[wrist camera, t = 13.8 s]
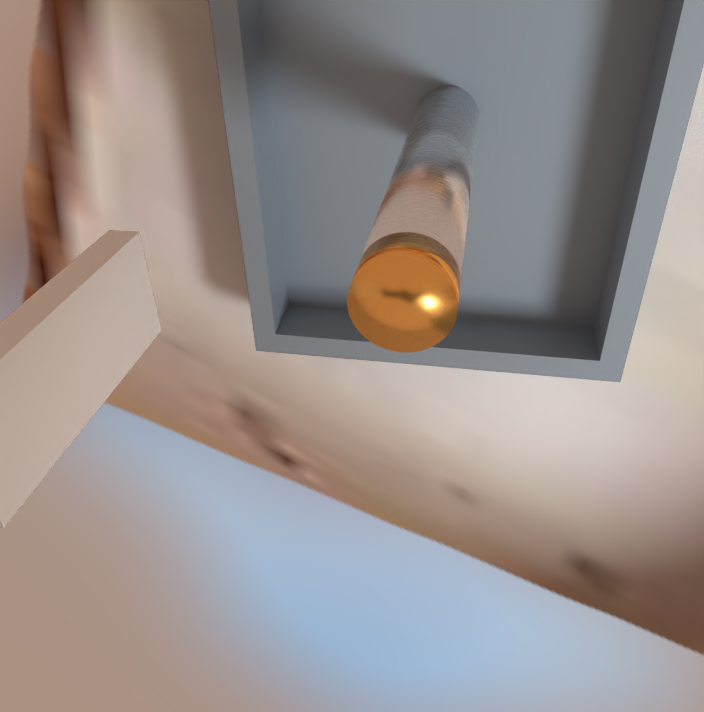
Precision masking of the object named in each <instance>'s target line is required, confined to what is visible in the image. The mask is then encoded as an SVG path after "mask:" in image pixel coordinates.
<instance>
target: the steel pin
mask: <svg viewBox="0 0 704 712" xmlns="http://www.w3.org/2000/svg"><path fill="white" fill-rule="evenodd" d="M478 121H479V112H478V107H477V105H476V102H475V101H474V99H473V98H472V96H471V95H470V94H469V93H468V92H466V91H465V90H463V89H462V88H459V87H456V86H450V85H446V86H440V87H437V88H435V89H433V90H431V91H430V92H428V93H427V94H426V95H425V96H424V97H423V98H422V100H421V101H420V103H419V105H418V108H417V110H416V113H415V116H414V118H413V121H412V124H411V126H410V129H409V132H408V134H407V137H406V140H405V142H404V145H403V148H402V150H401V153H400V155H399V158H398V161H397V163H396V166H395V169H394V171H393V174H392V177H391V179H390V182H389V185H388V187H387V190H386V193H385V195H384V198H383V200H382V203H381V206H380V208H379V211H378V214H377V216H376V219H375V222H374V224H373V227H372V230H371V232H370V235H369V238H368V240H367V243H366V245H365V248H364V251H363V253H362V256H361V259H360V261H359V264H358V267H357V269H356V272H355V275H354V277H353V280H352V283H351V285H350V288H349V291H348V296H347V307H348V312H349V316H350V318H351V320H352V322H353V324H354V326H355V327H356V329H357V330H358V331H359V332H360V333H361V334H362V335H363V336H364V337H365V338H366V339H367V340H368V341H370V342H372V343H373V344H375V345H377V346H379V347H381V348H384V349H386V350H390V351H394V352H404V353H409V352H418V351H422V350H425V349H428V348H430V347H433V346H435V345H436V344H438V343H439V342H441V341H442V340H443V339H444V338H445V337H446V336H447V335H448V334H449V332H450V331H451V330H452V328H453V326H454V324H455V321H456V318H457V312H458V303H459V294H460V285H461V276H462V267H463V258H464V248H465V239H466V230H467V221H468V212H469V203H470V194H471V185H472V175H473V166H474V157H475V148H476V139H477V130H478Z"/></svg>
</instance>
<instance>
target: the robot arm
mask: <svg viewBox="0 0 704 712" xmlns="http://www.w3.org/2000/svg"><path fill="white" fill-rule="evenodd" d="M160 332H161V326H160V322H159V317H158V313H157V308H156V304H155V300H154V295H153V291H152V286H151V282H150V277H149V273H148V268H147V264H146V260H145V255H144V251H143V246H142V242H141V237H140V233H139V232H132V231H116V230H109V231H108V232H107V233H105V234H104V235H103V236H102V237H101V238H100V239H98V240H97V241H96V242H95V243H94V244H92V245H91V246H90V247H89V248H88V249H87V250H85V251H84V252H83V253H82V254H81V255H79V256H78V257H77V258H76V259H75V260H74V261H72V262H71V263H70V264H69V265H68V266H66V267H65V268H64V269H63V270H62V271H61V272H59V273H58V274H57V275H56V276H55V277H53V278H52V279H51V280H50V281H49V282H47V283H46V284H45V285H44V286H43V287H42V288H40V289H39V290H38V291H37V292H36V293H34V294H33V295H32V296H31V297H30V298H29V299H27V300H26V301H25V302H24V303H23V304H21V305H20V306H19V307H18V308H17V309H16V310H14V311H13V312H12V313H11V314H10V315H8V316H7V317H6V318H5V319H4V320H3V321H1V322H0V528H5V526H6V525H7V524H8V523H9V521H10V520H11V518H13V516H14V515H15V513H16V512H17V511H18V510H19V509H20V508H21V506H22V505H23V504H24V502H25V501H26V500H27V499H28V497H29V496H30V495H31V494H32V492H33V491H34V490H35V489H36V487H37V486H38V485H39V484H40V482H41V481H42V480H43V478H44V477H45V476H46V475H47V474H48V472H49V471H50V470H51V469H52V467H53V466H54V465H55V464H56V462H57V461H58V460H59V458H60V457H61V456H62V455H63V453H64V452H65V451H66V450H67V448H68V447H69V446H70V445H71V443H72V442H73V441H74V440H75V438H76V437H77V436H78V435H79V433H80V432H81V431H82V430H83V428H84V427H85V426H86V425H87V423H88V422H89V421H90V420H91V418H92V417H93V416H94V414H95V413H96V412H97V411H98V409H99V408H100V407H101V406H102V405H103V403H104V402H105V401H106V400H107V398H108V397H109V396H110V395H111V393H112V392H113V391H114V389H115V388H116V387H117V386H118V384H119V383H120V382H121V381H122V379H123V378H124V377H125V376H126V374H127V373H128V372H129V371H130V369H131V368H132V367H133V366H134V364H135V363H136V362H137V361H138V359H139V358H140V357H141V356H142V354H143V353H144V352H145V351H146V349H147V348H148V347H149V346H150V344H151V343H152V342H153V341H154V339H155V338H156V337H157V335H158V334H159V333H160Z"/></svg>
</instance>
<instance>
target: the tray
mask: <svg viewBox="0 0 704 712" xmlns="http://www.w3.org/2000/svg"><path fill="white" fill-rule="evenodd" d="M208 2H209V10H210V17H211V24H212V31H213V39H214V46H215V53H216V61H217V68H218V75H219V82H220V90H221V97H222V104H223V112H224V119H225V126H226V133H227V141H228V148H229V155H230V163H231V170H232V177H233V184H234V192H235V199H236V206H237V214H238V221H239V228H240V235H241V243H242V250H243V257H244V265H245V272H246V279H247V286H248V294H249V301H250V308H251V316H252V323H253V330H254V337H255V345H256V351H266V352H277V353H289V354H300V355H312V356H323V357H335V358H347V359H358V360H370V361H381V362H393V363H404V364H416V365H428V366H439V367H451V368H462V369H474V370H485V371H497V372H509V373H520V374H532V375H543V376H555V377H566V378H578V379H589V380H601V381H613V382H620V381H621V377H622V373H623V369H624V366H625V362H626V358H627V354H628V350H629V347H630V343H631V339H632V335H633V331H634V327H635V324H636V320H637V316H638V312H639V308H640V305H641V301H642V297H643V293H644V289H645V286H646V282H647V278H648V274H649V270H650V266H651V263H652V259H653V255H654V251H655V247H656V244H657V240H658V236H659V232H660V228H661V224H662V221H663V217H664V213H665V209H666V205H667V202H668V198H669V194H670V190H671V186H672V182H673V179H674V175H675V171H676V167H677V163H678V160H679V156H680V152H681V148H682V144H683V140H684V137H685V133H686V129H687V125H688V121H689V118H690V114H691V110H692V106H693V102H694V99H695V95H696V91H697V87H698V83H699V79H700V76H701V72H702V68H703V64H704V0H208ZM446 85H450V86H456V87H459V88H462V89H463V90H465V91H466V92H468V93H469V94H470V95H471V96H472V98H473V99H474V101H475V102H476V105H477V107H478V112H479V121H478V130H477V139H476V148H475V157H474V166H473V175H472V185H471V194H470V203H469V212H468V221H467V230H466V239H465V248H464V258H463V267H462V276H461V285H460V294H459V303H458V312H457V318H456V321H455V324H454V326H453V328H452V330H451V331H450V332H449V334H448V335H447V336H446V337H445V338H444V339H443V340H442V341H441V342H439V343H438V344H436V345H435V346H433V347H430V348H428V349H425V350H422V351H418V352H409V353H404V352H394V351H390V350H386V349H384V348H381V347H379V346H377V345H375V344H373V343H372V342H370V341H368V340H367V339H366V338H365V337H364V336H363V335H362V334H361V333H360V332H359V331H358V330H357V329H356V327H355V326H354V324H353V322H352V320H351V318H350V316H349V312H348V307H347V296H348V291H349V288H350V285H351V283H352V280H353V277H354V275H355V272H356V269H357V267H358V264H359V261H360V259H361V256H362V253H363V251H364V248H365V245H366V243H367V240H368V238H369V235H370V232H371V230H372V227H373V224H374V222H375V219H376V216H377V214H378V211H379V208H380V206H381V203H382V200H383V198H384V195H385V193H386V190H387V187H388V185H389V182H390V179H391V177H392V174H393V171H394V169H395V166H396V163H397V161H398V158H399V155H400V153H401V150H402V148H403V145H404V142H405V140H406V137H407V134H408V132H409V129H410V126H411V124H412V121H413V118H414V116H415V113H416V110H417V108H418V105H419V103H420V101H421V100H422V98H423V97H424V96H425V95H426V94H427V93H428V92H430V91H431V90H433V89H435V88H437V87H440V86H446Z"/></svg>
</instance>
